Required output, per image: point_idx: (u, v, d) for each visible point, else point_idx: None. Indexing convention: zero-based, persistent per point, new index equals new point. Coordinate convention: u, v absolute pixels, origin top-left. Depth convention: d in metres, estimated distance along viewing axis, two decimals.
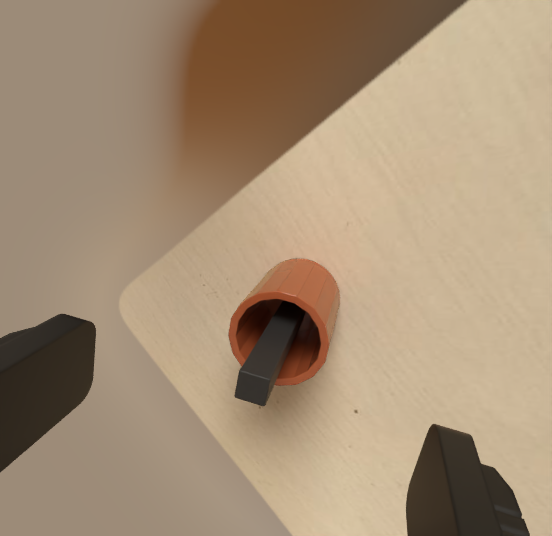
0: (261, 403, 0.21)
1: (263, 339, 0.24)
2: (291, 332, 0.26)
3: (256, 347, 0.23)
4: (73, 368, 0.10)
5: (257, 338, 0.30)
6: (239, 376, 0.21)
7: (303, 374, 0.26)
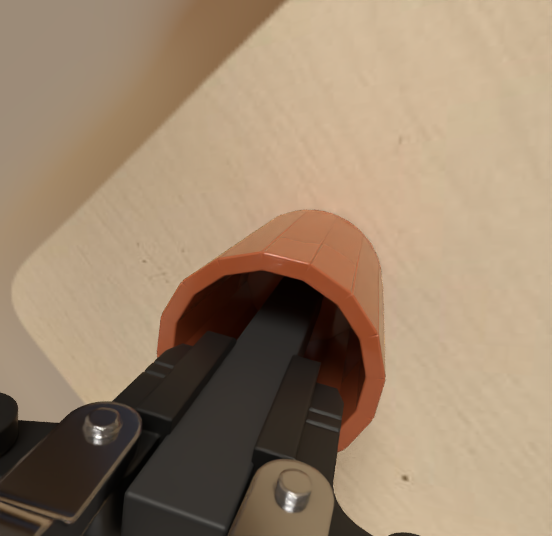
0: None
1: (225, 371, 0.09)
2: (297, 349, 0.11)
3: (203, 395, 0.09)
4: None
5: None
6: (125, 511, 0.06)
7: None
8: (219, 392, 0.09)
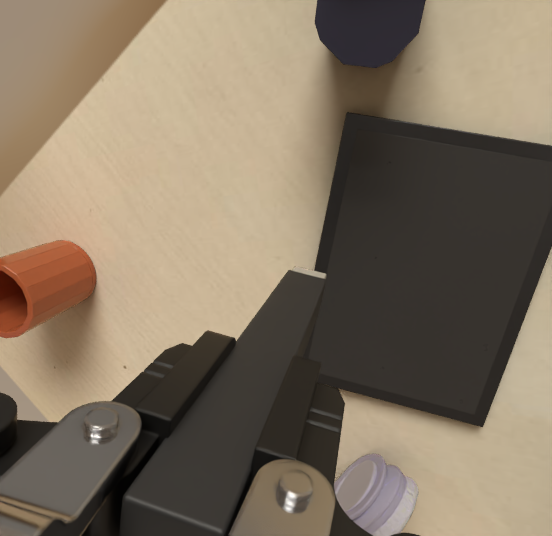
0: None
1: (223, 374, 0.09)
2: (295, 352, 0.11)
3: (201, 398, 0.09)
4: None
5: (9, 304, 0.37)
6: (123, 515, 0.06)
7: (20, 328, 0.34)
8: (217, 395, 0.09)
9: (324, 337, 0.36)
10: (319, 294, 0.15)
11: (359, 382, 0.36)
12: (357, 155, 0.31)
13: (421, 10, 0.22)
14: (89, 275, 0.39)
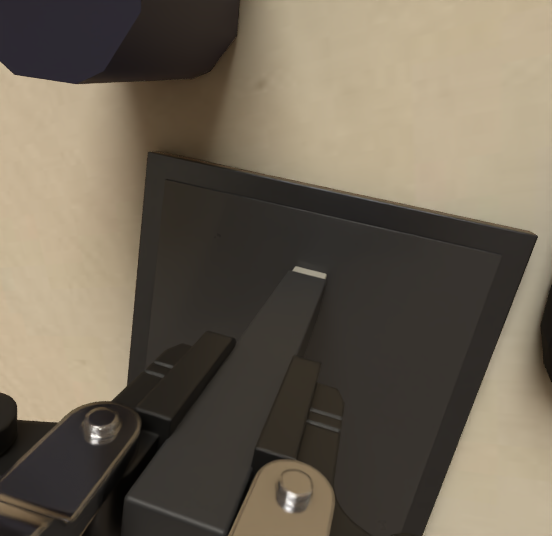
0: None
1: (224, 374, 0.09)
2: (296, 352, 0.11)
3: (202, 399, 0.09)
4: None
5: None
6: (125, 516, 0.06)
7: None
8: (219, 395, 0.09)
9: None
10: (319, 294, 0.15)
11: None
12: (168, 221, 0.19)
13: None
14: None
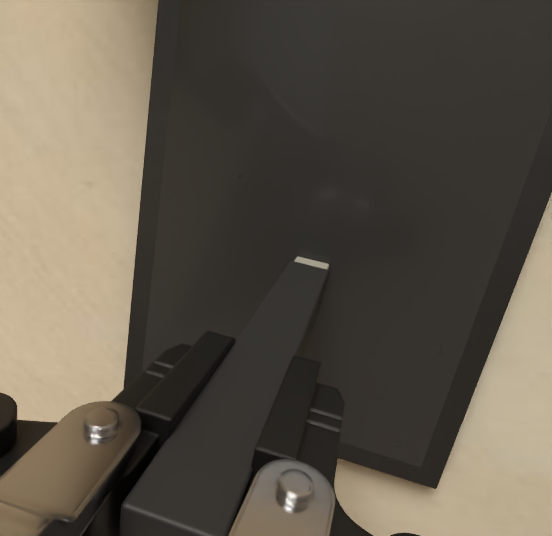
0: None
1: (224, 373, 0.09)
2: (297, 348, 0.11)
3: (201, 399, 0.08)
4: None
5: None
6: (122, 523, 0.06)
7: None
8: (218, 395, 0.09)
9: (166, 324, 0.21)
10: (321, 286, 0.15)
11: None
12: None
13: None
14: None
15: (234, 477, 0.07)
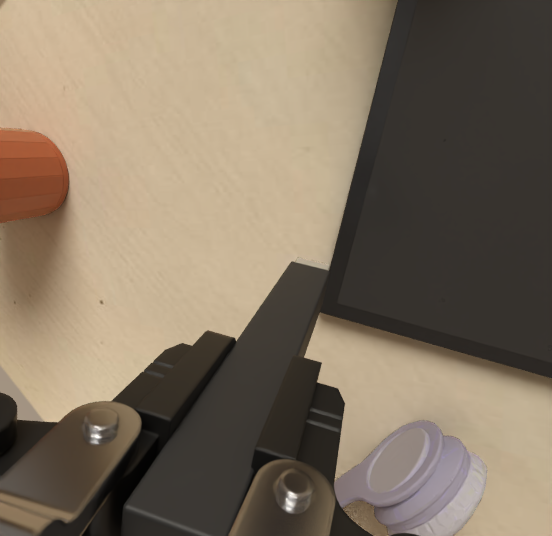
0: None
1: (225, 374, 0.09)
2: (298, 349, 0.11)
3: (202, 400, 0.08)
4: None
5: None
6: (124, 524, 0.06)
7: None
8: (219, 397, 0.09)
9: (365, 257, 0.27)
10: (322, 287, 0.15)
11: (409, 320, 0.27)
12: None
13: None
14: (59, 174, 0.30)
15: (236, 478, 0.07)
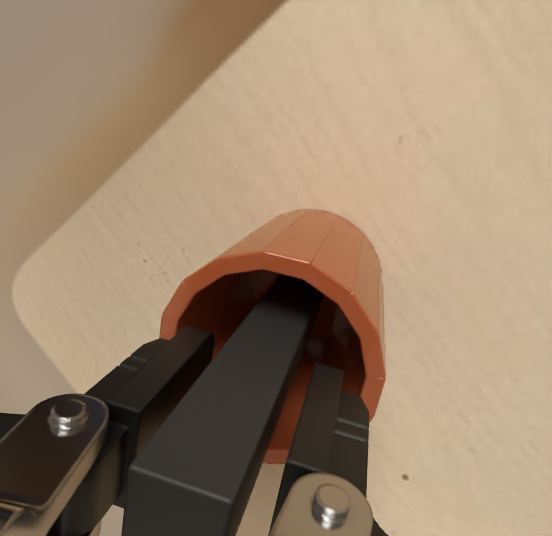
0: None
1: (227, 354, 0.09)
2: (300, 335, 0.11)
3: (206, 376, 0.08)
4: None
5: None
6: (129, 486, 0.06)
7: None
8: (222, 374, 0.09)
9: None
10: None
11: None
12: None
13: None
14: (382, 289, 0.17)
15: (241, 445, 0.07)
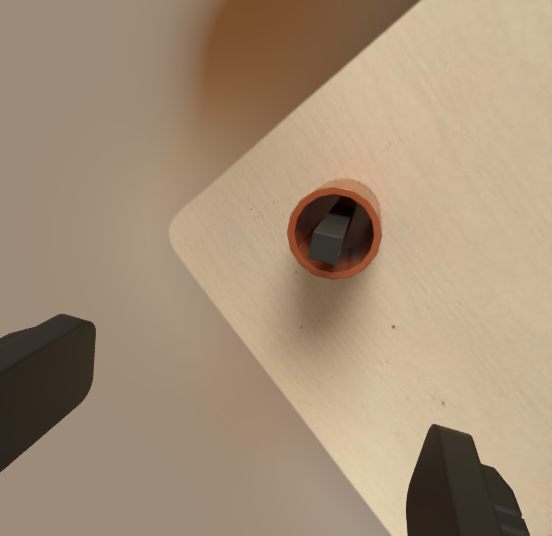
0: (333, 261, 0.23)
1: (325, 221, 0.27)
2: (348, 221, 0.28)
3: (322, 223, 0.26)
4: (73, 368, 0.10)
5: (308, 245, 0.32)
6: (313, 237, 0.23)
7: (356, 267, 0.29)
8: (326, 223, 0.26)
9: None
10: (352, 211, 0.32)
11: None
12: None
13: None
14: None
15: (340, 232, 0.24)
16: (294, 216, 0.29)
